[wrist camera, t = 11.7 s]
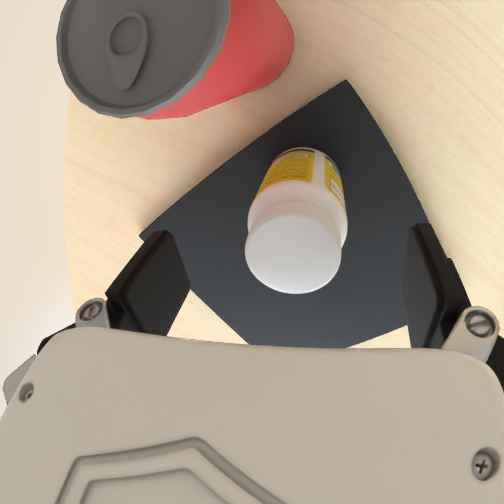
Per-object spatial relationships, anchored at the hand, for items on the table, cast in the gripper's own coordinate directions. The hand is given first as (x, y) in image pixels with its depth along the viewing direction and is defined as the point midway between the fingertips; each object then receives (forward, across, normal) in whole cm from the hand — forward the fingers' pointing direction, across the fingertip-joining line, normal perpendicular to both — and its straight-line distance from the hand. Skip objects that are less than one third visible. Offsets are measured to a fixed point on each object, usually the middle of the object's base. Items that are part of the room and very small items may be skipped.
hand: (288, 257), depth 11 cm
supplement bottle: (+9, 0, +1) cm, 9 cm away
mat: (+9, 0, +8) cm, 12 cm away
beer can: (+10, +3, -9) cm, 14 cm away
